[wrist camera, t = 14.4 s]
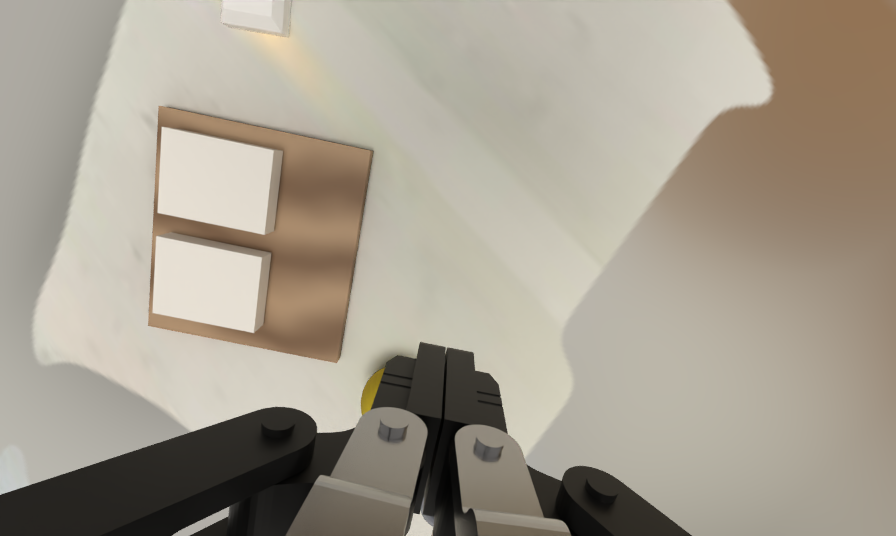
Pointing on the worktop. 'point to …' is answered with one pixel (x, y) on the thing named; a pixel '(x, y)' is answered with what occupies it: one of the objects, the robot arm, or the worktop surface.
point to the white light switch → (257, 15)
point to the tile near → (218, 180)
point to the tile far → (210, 282)
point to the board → (286, 238)
